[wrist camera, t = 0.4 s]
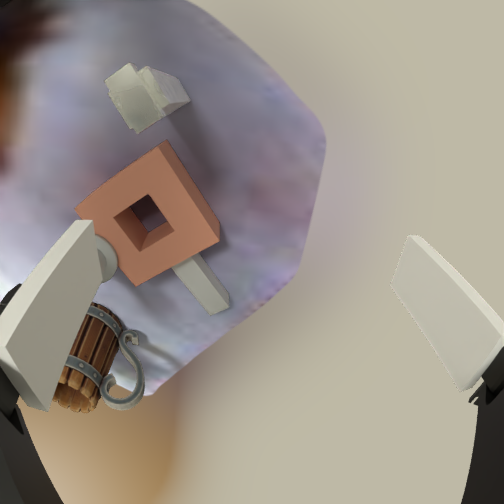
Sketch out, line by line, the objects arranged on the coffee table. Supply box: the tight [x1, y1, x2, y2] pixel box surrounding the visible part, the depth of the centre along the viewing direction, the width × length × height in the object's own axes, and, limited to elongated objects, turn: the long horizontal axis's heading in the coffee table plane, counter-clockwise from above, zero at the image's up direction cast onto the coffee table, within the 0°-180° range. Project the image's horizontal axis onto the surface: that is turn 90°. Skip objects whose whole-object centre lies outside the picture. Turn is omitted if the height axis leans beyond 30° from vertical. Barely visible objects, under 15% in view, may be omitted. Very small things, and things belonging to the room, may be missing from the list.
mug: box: [52, 302, 145, 413], centre depth 37 cm, size 16×11×15 cm
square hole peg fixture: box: [74, 140, 229, 316], centre depth 31 cm, size 22×17×16 cm
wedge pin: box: [104, 62, 191, 134], centre depth 22 cm, size 4×3×15 cm
